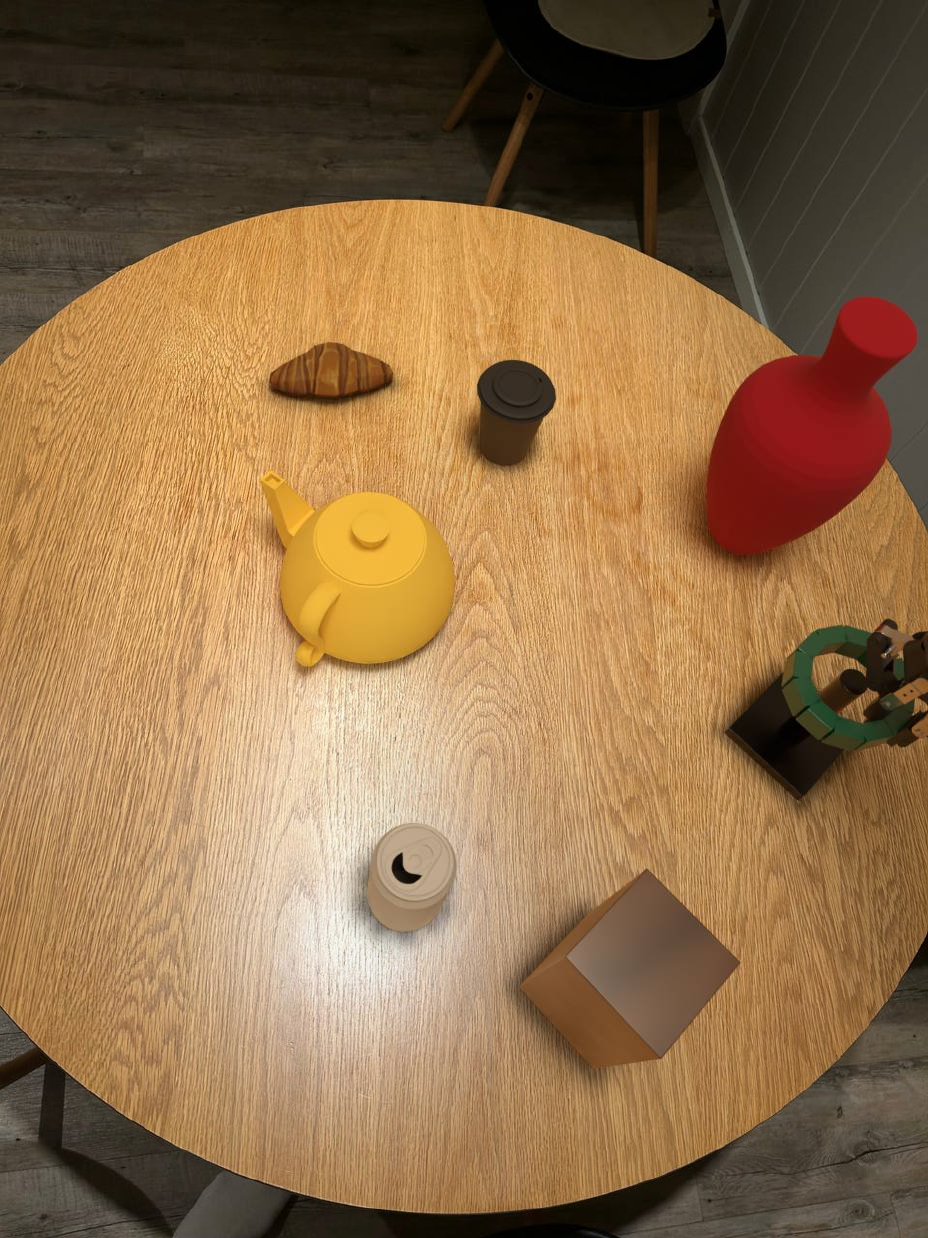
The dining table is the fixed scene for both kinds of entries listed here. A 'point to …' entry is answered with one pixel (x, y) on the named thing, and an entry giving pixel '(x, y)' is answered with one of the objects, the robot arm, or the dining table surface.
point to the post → (792, 733)
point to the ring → (815, 711)
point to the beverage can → (410, 876)
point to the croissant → (330, 373)
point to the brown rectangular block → (630, 976)
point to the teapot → (360, 574)
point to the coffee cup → (512, 409)
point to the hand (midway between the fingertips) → (882, 728)
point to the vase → (806, 433)
